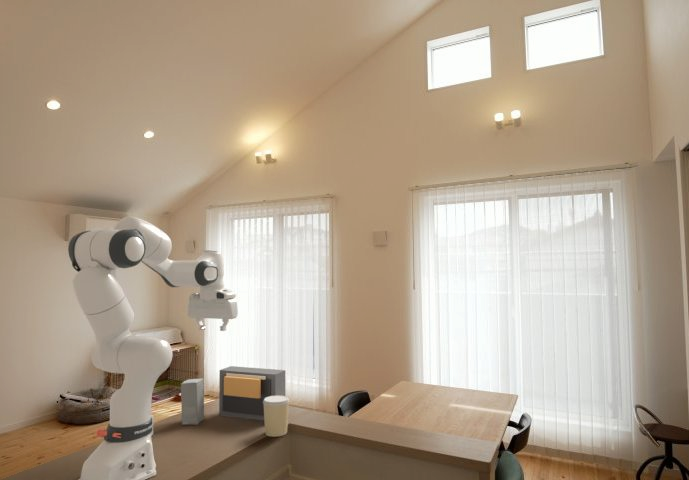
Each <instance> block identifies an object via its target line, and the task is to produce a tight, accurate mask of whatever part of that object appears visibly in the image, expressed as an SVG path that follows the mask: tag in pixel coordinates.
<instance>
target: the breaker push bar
mask: <svg viewBox="0 0 689 480" xmlns="http://www.w3.org/2000/svg"><path fill="white" fill-rule="evenodd" d="M224 395H229V396H239V397H248V398H258V399H259V398H261V379H254V378H242V377H230V376H225V377H224Z"/></svg>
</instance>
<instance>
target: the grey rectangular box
mask: <svg viewBox="0 0 689 480" xmlns="http://www.w3.org/2000/svg"><path fill="white" fill-rule="evenodd" d="M225 376H230V377H242V378H254V379H261V398H259V399H258V398H248V397H239V396H229V395H224V377H225ZM218 384H219V389H218V390H219V392H218V395H219V396H218V397H219V400H218V401H219V403H218V406H219V408H218V409H219V410H218V411H219V412H218V414H219V416H222V417H223V416H224V417H232V418H240V419H247V420H256V421H263V422H265V421H264V404H263V401H264V399H265V398H266V397H269V396H277V395H280V396H286V370H285V369H274V368H273V369H272V368H260V367H248V366H246V367H245V366H234V365H229V366H228V367H225V368H221V369H219V383H218Z"/></svg>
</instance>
